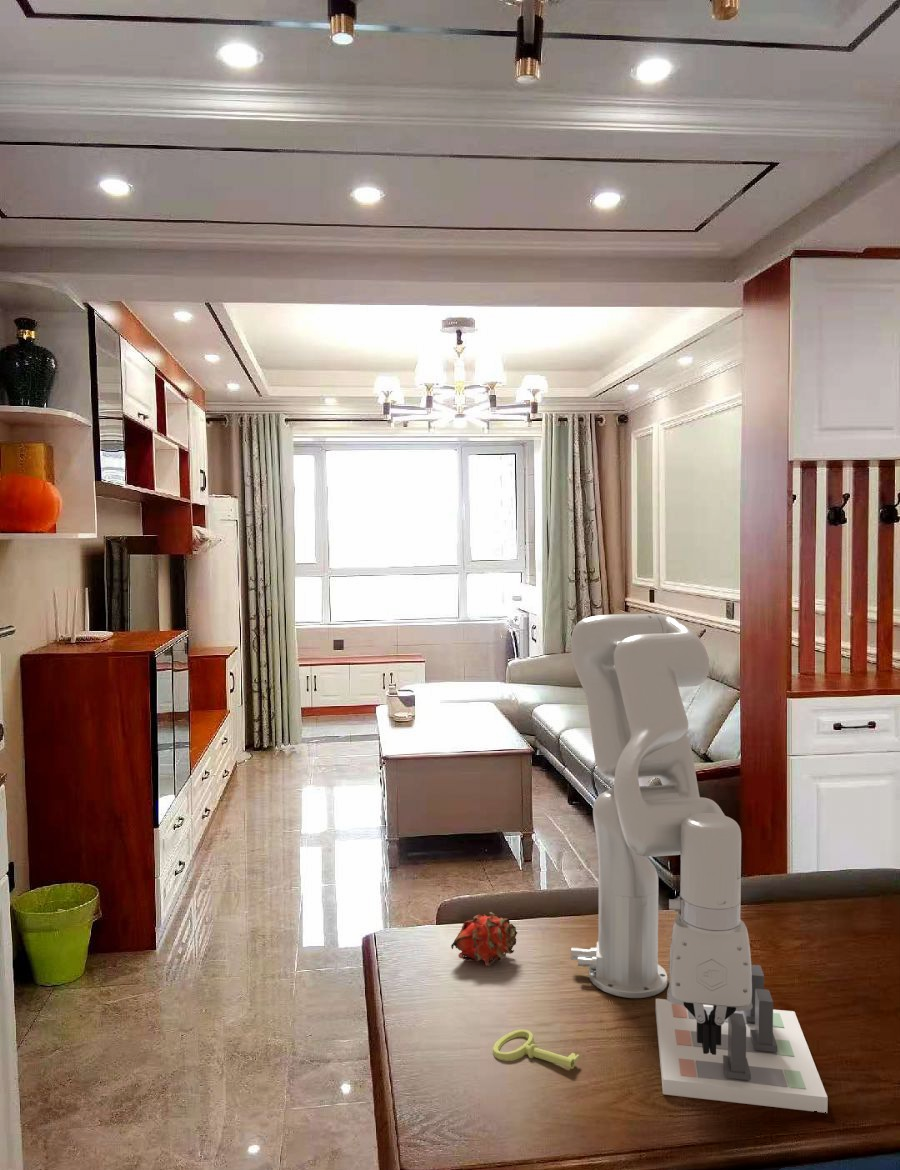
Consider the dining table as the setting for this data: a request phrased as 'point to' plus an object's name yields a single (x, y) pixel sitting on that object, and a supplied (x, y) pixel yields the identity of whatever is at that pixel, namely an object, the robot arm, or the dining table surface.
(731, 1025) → the switch
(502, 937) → the dragon fruit
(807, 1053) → the switch board
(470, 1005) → the dining table surface
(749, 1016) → the far switch
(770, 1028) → the middle switch
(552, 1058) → the key
